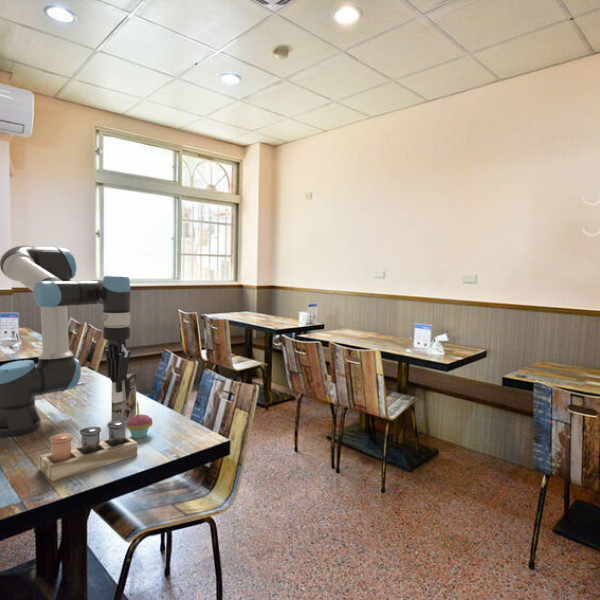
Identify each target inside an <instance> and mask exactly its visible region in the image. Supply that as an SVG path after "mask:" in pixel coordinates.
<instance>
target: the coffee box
mask: <svg viewBox="0 0 600 600" xmlns="http://www.w3.org/2000/svg"><path fill="white" fill-rule="evenodd" d="M135 414H137V373H135V372H134V373H133V372H129V373H128V372H127V379H126V380H124V381H123V401H122V402H117V403H112V402H111V421H116V420H124V421H128V420H129V419H130V418H131V417H133V416H135Z"/></svg>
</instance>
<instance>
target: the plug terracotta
mask: <svg viewBox="0 0 600 600" xmlns="http://www.w3.org/2000/svg"><path fill="white" fill-rule="evenodd" d="M73 436H74V435H73V434H71V433H69V432H67V433H66V432H65V433H58V434H55V435H53V436H51V437H50V438H49V443H51V453H52V463H59V462H62V461H66V460H69V459H71V447H72V440H73V438H74V437H73Z"/></svg>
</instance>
